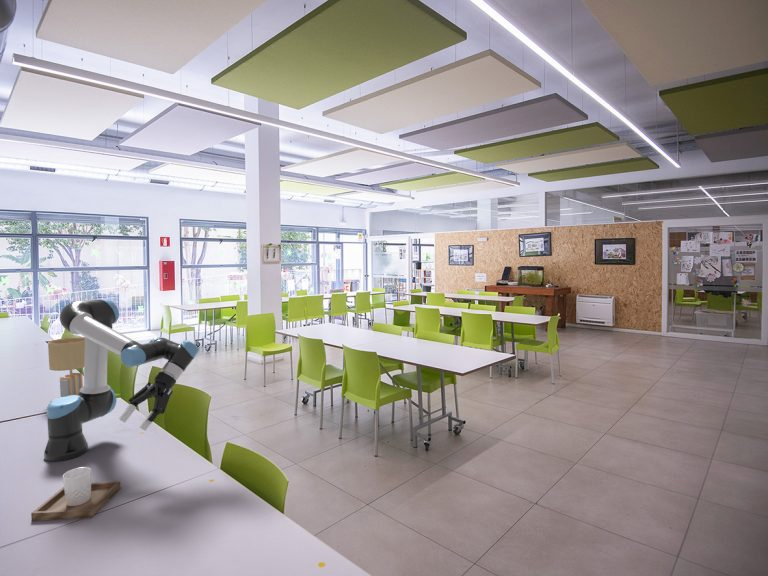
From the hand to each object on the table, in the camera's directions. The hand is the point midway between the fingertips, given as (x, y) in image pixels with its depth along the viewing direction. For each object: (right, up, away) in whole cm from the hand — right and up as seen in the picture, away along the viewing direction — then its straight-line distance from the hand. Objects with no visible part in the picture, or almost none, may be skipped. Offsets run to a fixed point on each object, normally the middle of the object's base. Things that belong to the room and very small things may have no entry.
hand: (131, 424), depth 163 cm
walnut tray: (-9, -22, -15) cm, 28 cm away
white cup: (-9, -21, -15) cm, 28 cm away
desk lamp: (-86, -14, +90) cm, 125 cm away
